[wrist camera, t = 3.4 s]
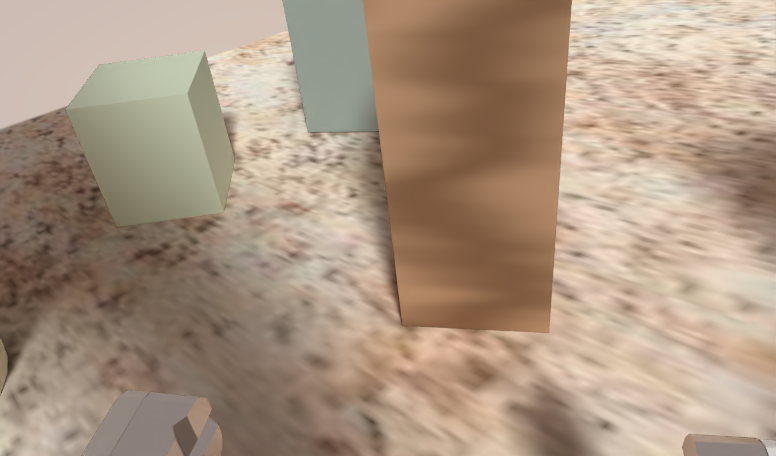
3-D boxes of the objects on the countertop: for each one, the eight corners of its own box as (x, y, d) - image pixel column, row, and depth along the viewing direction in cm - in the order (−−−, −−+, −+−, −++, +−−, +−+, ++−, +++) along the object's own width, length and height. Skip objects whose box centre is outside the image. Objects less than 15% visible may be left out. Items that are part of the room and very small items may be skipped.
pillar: (402, 325, 22) (358, -31, 15) (420, 239, 26) (392, -76, 19) (548, 332, 21) (574, -45, 14) (544, 242, 25) (563, -89, 18)
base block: (308, 132, 35) (270, -62, 29) (353, 51, 45) (331, -107, 39) (452, 130, 34) (442, -75, 28) (467, 47, 43) (463, -119, 37)
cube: (116, 228, 29) (65, 109, 26) (141, 173, 33) (99, 64, 30) (224, 213, 29) (186, 93, 26) (235, 160, 33) (204, 50, 30)
